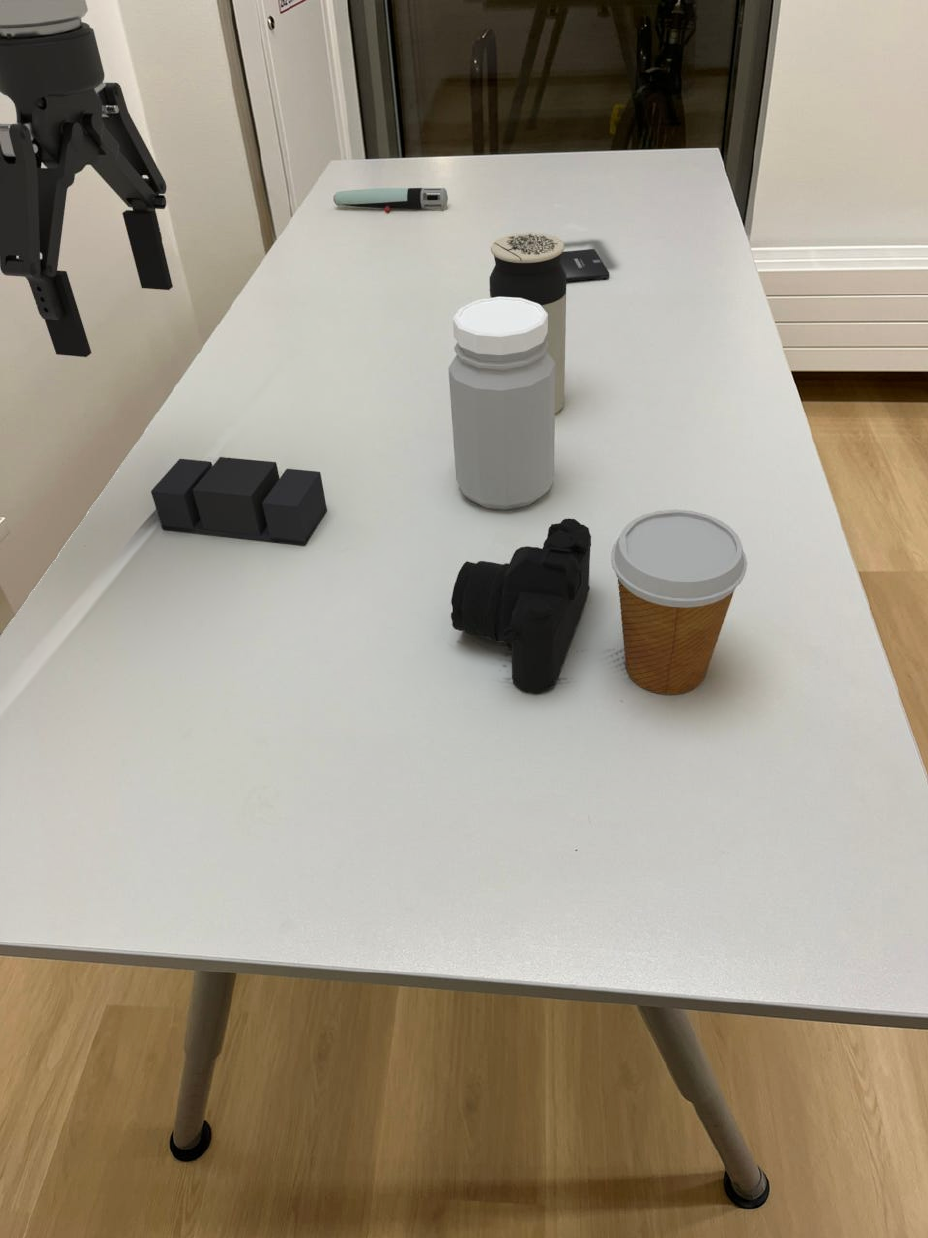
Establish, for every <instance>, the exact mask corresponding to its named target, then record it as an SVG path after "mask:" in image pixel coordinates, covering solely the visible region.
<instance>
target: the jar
mask: <svg viewBox="0 0 928 1238" xmlns="http://www.w3.org/2000/svg"><path fill="white" fill-rule="evenodd" d="M452 327H453V337H454V339H455V341H456V344H455V345H454V349H453V350H454V352H455V354H456V355H455V356H454V358H453V359H452V361H451V363H450V364H449V366H448V380H449V381H448V383H449V396H450V412H451V424H452V425H451V427H452V438H453V439H452V440H453V453H454V454H453V455H454V467H455V468H454V469H455V480H456V483H457V485H458V487H459V489H460V491H461V493H462V494H463V495H464V496H465V497H466V498H467V499H469V500H470V501H472V502H474V503H476V504H478V505H479V506H481V507H483V508H486V509H492V510H493V509H494V510H502V511H509V510H514V509H519V508H525V507H528V506H529V505H532V503H534V502H536V501H537V500H539V499H540V498H542V497H543V496H544V495H545V494H546V493H548V492H549V490H550V488H551V485H552V483H553V480H554V477H555V447H556V446H555V444H556V443H555V439H556V436H555V433H556V432H555V431H556V429H555V428H556V426H555V424H556V421H555V420H556V413H555V362H554V360H553V359H552V358H551V356H550V355H549V354H548V353H547V351H546V349H547V347H548V342H547V341H546V340H545V337H546V335H547V333H548V314H547V312H546V311H545V310H544V309H543V307H542V306H541V305H540V304H538V303H535V302H532V301H529V300H526V299H523V298H514V297H494V298H490V297H489V298H483V299H477V300H474V301H473V302H470V303H468V304H466V305H463V306H462V307H459V308H458V310H457V311H456V313H455V315H454V316H453V317H452Z"/></svg>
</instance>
